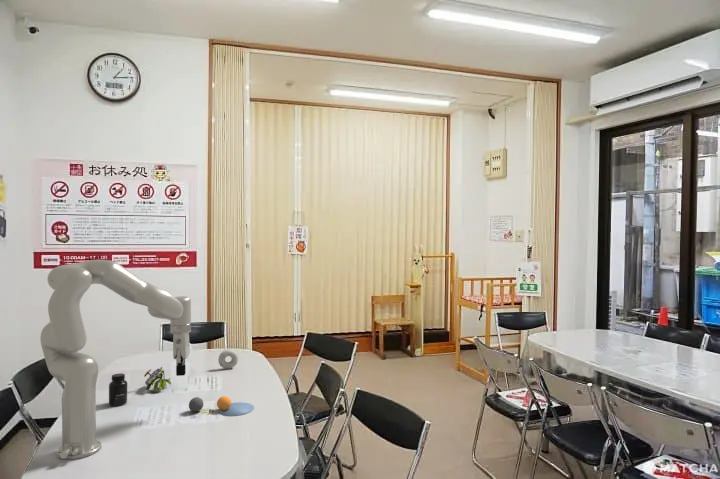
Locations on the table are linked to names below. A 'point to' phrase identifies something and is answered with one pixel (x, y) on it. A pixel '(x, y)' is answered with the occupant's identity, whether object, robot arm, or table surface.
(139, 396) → the table surface
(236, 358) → the donut
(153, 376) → the passion flower
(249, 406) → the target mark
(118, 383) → the supplement bottle
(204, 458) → the table surface
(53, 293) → the robot arm
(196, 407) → the dark gray ball
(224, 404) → the object ball
